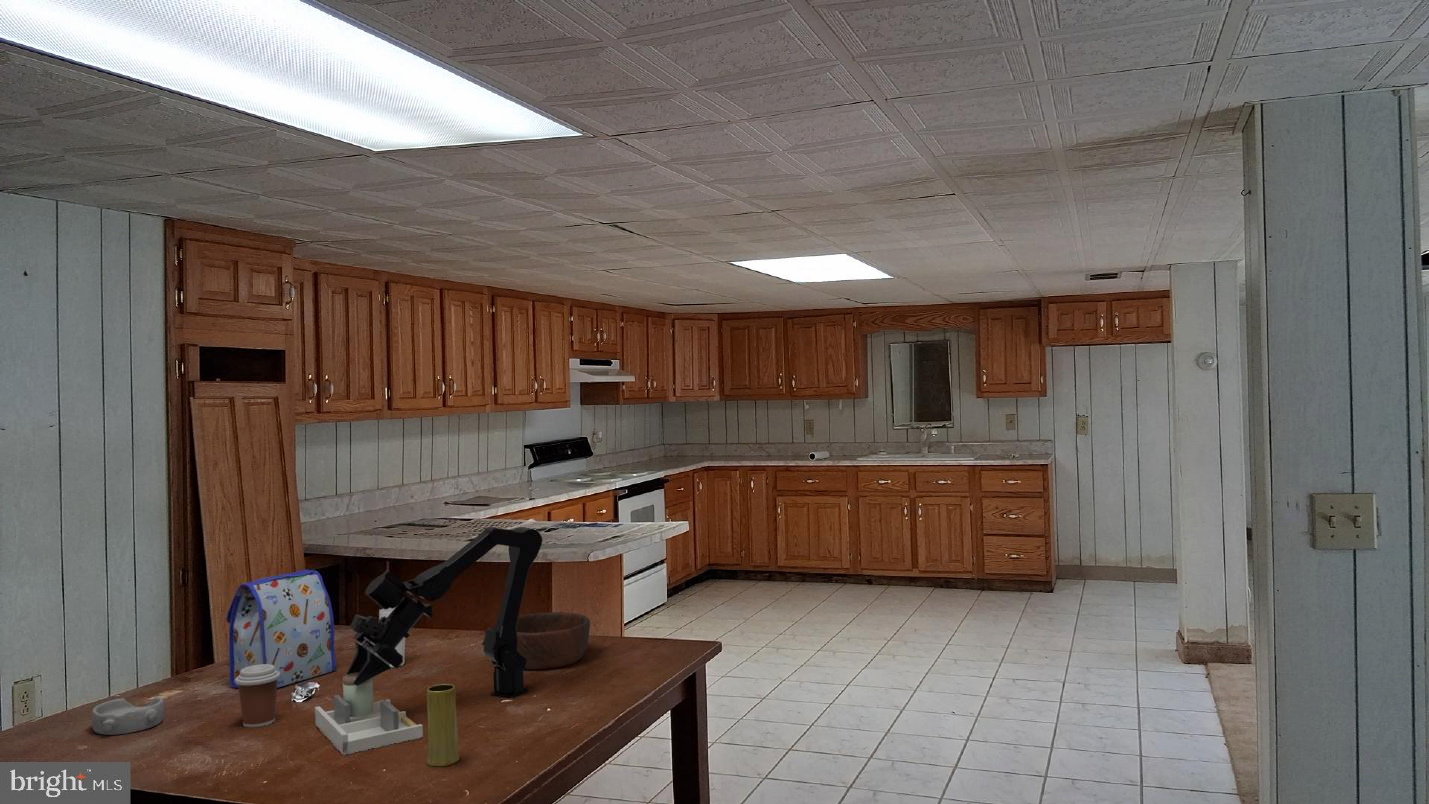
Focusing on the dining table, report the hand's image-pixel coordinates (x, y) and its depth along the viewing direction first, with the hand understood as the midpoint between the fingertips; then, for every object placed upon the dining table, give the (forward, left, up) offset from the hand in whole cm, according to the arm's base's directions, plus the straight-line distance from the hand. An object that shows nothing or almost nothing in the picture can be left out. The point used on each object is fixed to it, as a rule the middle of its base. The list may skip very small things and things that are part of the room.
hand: (351, 681), depth 210 cm
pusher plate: (+1, +2, -9) cm, 9 cm away
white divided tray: (-6, +1, -10) cm, 11 cm away
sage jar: (-1, -1, -7) cm, 7 cm away
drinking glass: (+28, -40, -10) cm, 50 cm away
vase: (-33, +8, -10) cm, 35 cm away
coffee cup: (+22, +6, -10) cm, 25 cm away
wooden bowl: (-7, -59, -10) cm, 60 cm away
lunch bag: (+46, -20, -10) cm, 51 cm away
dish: (+48, +19, -10) cm, 53 cm away
